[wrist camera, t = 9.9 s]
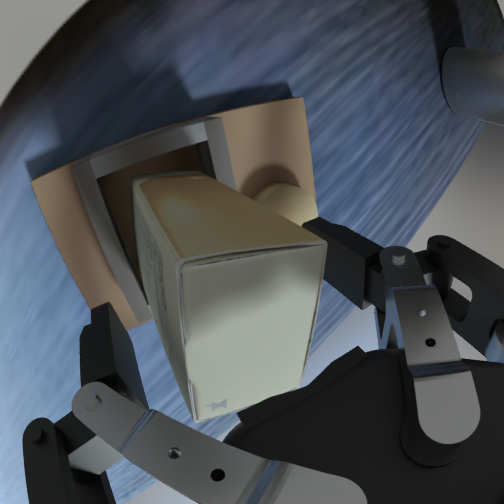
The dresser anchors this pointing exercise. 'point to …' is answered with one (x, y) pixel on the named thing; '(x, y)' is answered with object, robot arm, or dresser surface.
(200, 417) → the skincare box
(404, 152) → the dresser surface
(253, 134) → the carrier plate
